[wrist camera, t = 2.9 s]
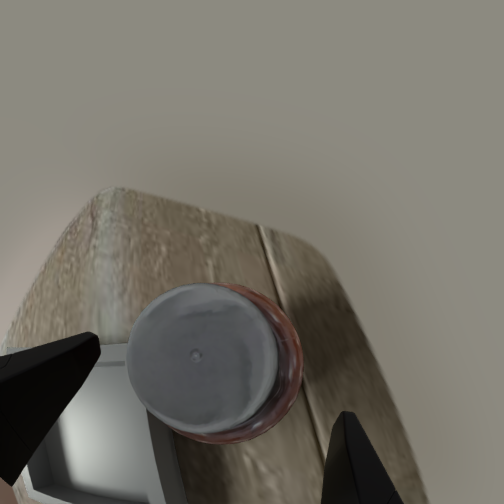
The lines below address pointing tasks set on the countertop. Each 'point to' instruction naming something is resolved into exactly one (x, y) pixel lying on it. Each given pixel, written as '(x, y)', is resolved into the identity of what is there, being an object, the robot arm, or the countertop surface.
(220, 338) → the supplement bottle
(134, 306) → the countertop surface
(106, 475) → the tray
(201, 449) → the countertop surface
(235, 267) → the countertop surface
